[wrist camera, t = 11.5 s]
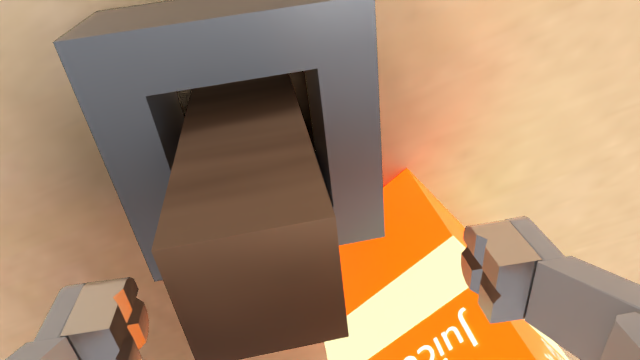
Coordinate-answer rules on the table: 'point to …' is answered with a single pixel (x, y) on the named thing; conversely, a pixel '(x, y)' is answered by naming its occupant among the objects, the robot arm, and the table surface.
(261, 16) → the socket
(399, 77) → the table surface
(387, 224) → the orange juice
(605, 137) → the table surface
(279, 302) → the peg
